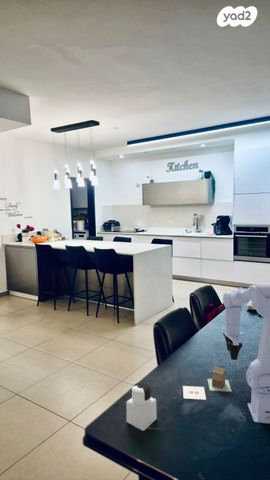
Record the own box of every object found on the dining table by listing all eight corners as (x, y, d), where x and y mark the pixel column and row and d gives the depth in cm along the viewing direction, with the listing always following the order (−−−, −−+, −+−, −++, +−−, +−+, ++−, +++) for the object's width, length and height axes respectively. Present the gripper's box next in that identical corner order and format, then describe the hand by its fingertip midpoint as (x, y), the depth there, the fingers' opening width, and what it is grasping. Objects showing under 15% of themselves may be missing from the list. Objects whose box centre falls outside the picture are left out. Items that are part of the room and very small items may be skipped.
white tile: (206, 400, 112) (206, 399, 112) (183, 399, 113) (183, 398, 113) (203, 388, 120) (203, 386, 120) (182, 386, 121) (182, 385, 121)
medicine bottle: (139, 411, 107) (139, 377, 106) (156, 419, 102) (156, 385, 101) (126, 422, 101) (125, 387, 100) (143, 432, 97) (143, 395, 96)
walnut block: (222, 389, 118) (222, 373, 118) (212, 386, 121) (212, 371, 120) (225, 384, 122) (225, 369, 121) (215, 381, 124) (215, 366, 123)
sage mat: (231, 392, 117) (231, 391, 117) (209, 391, 118) (209, 390, 118) (227, 380, 125) (227, 379, 125) (207, 379, 126) (207, 378, 126)
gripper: (247, 329, 118) (246, 364, 119) (239, 316, 132) (238, 347, 133) (228, 329, 118) (227, 363, 120) (221, 316, 133) (221, 346, 134)
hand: (232, 354), depth 127 cm, fingers open, 7 cm apart
